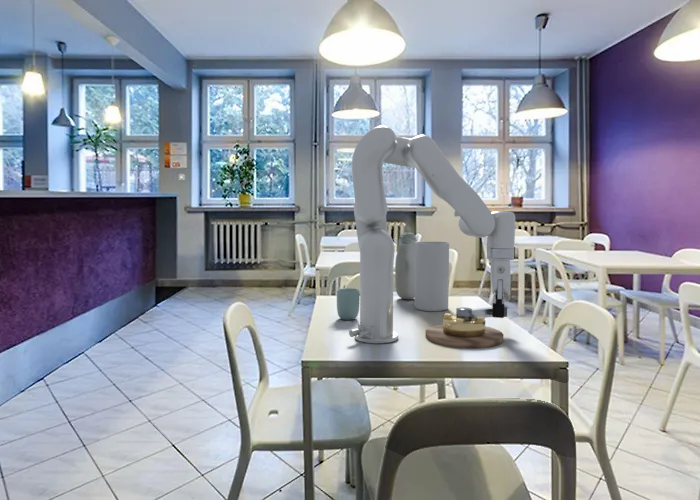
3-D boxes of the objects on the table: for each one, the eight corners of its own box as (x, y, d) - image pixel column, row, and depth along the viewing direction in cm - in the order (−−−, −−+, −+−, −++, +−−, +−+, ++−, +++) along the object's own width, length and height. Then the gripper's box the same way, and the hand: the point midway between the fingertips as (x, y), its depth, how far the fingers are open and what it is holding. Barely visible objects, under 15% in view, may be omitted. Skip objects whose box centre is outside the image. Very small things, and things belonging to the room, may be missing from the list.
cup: (339, 315, 166) (339, 287, 165) (361, 316, 164) (361, 288, 163) (334, 321, 158) (334, 291, 157) (357, 322, 156) (357, 292, 156)
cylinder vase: (451, 312, 172) (452, 243, 169) (416, 311, 172) (417, 243, 170) (444, 305, 184) (445, 241, 182) (412, 305, 184) (413, 241, 182)
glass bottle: (393, 297, 201) (393, 231, 199) (417, 296, 202) (417, 231, 200) (397, 301, 192) (397, 232, 189) (421, 301, 192) (422, 232, 190)
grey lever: (456, 338, 129) (457, 314, 129) (435, 328, 141) (435, 306, 140) (517, 332, 136) (517, 309, 135) (491, 322, 147) (492, 302, 147)
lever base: (479, 353, 122) (479, 347, 121) (410, 337, 137) (410, 332, 137) (516, 336, 137) (516, 331, 137) (451, 324, 153) (451, 319, 152)
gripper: (516, 257, 127) (513, 323, 129) (511, 252, 142) (509, 312, 143) (487, 256, 129) (485, 321, 131) (485, 251, 144) (483, 311, 145)
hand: (497, 316), depth 137 cm, fingers closed
